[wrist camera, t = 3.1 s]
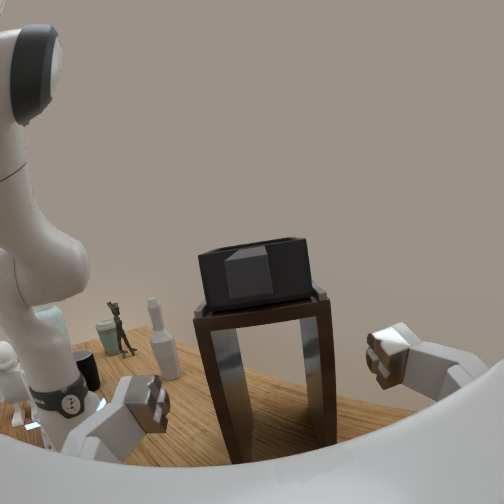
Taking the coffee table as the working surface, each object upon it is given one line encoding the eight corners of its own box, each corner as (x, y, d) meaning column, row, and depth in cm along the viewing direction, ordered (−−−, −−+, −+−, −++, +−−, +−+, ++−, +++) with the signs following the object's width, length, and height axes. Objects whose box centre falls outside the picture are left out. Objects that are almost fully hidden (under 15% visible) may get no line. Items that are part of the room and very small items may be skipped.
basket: (224, 288, 41) (217, 248, 41) (297, 277, 41) (291, 236, 40) (178, 356, 17) (159, 268, 17) (344, 333, 17) (334, 241, 16)
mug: (102, 378, 65) (91, 347, 65) (105, 391, 58) (92, 357, 57) (67, 386, 58) (55, 355, 58) (66, 399, 51) (52, 365, 50)
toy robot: (7, 427, 32) (-27, 350, 31) (10, 411, 39) (-19, 341, 38) (51, 418, 41) (19, 341, 40) (50, 403, 48) (23, 332, 47)
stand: (244, 414, 47) (217, 281, 45) (316, 404, 46) (302, 268, 45) (237, 480, 29) (190, 312, 27) (336, 467, 28) (329, 291, 27)
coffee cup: (129, 349, 89) (120, 318, 89) (115, 358, 81) (105, 325, 80) (113, 348, 91) (104, 318, 91) (99, 356, 83) (89, 325, 82)
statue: (140, 356, 82) (125, 299, 80) (122, 361, 78) (107, 303, 77) (137, 352, 86) (123, 297, 84) (121, 357, 82) (106, 301, 81)
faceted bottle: (182, 369, 70) (164, 294, 69) (184, 379, 64) (164, 298, 63) (161, 373, 68) (141, 298, 67) (161, 383, 62) (139, 303, 61)
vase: (77, 377, 65) (55, 308, 64) (47, 381, 60) (25, 314, 58) (81, 364, 75) (63, 302, 74) (53, 368, 70) (35, 307, 69)
